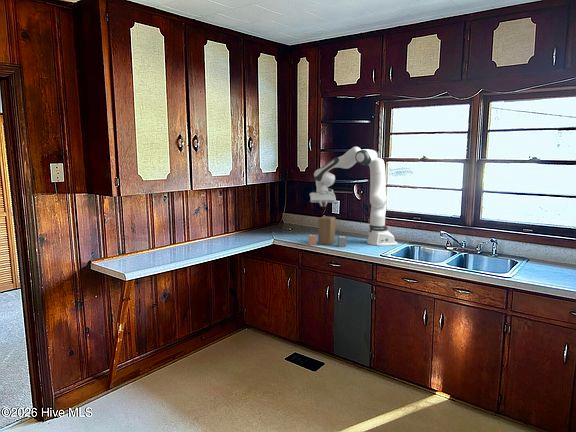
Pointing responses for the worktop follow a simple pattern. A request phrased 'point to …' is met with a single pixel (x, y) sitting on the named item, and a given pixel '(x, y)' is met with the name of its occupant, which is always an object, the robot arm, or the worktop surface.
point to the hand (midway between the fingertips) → (323, 206)
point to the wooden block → (326, 230)
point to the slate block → (341, 241)
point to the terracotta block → (312, 239)
